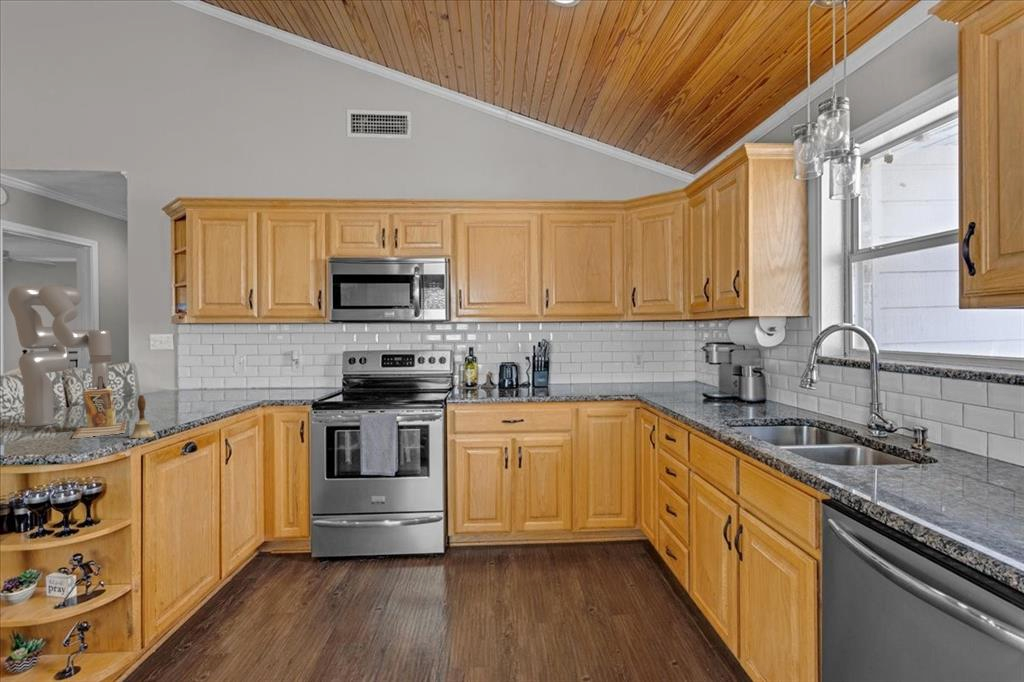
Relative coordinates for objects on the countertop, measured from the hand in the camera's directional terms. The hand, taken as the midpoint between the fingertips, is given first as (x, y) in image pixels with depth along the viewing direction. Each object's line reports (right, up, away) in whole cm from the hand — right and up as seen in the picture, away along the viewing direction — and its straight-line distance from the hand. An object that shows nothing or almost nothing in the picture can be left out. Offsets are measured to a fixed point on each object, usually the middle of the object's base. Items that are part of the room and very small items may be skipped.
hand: (102, 403), depth 226 cm
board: (+5, -11, -7) cm, 14 cm away
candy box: (+1, -9, -1) cm, 9 cm away
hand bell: (+28, -11, -17) cm, 35 cm away
